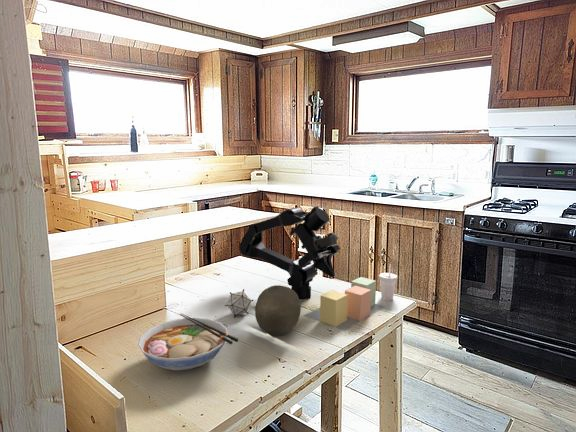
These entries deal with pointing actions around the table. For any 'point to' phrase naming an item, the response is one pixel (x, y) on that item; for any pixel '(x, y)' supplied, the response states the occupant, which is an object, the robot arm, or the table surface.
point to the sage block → (366, 286)
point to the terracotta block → (358, 302)
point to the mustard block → (333, 308)
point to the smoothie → (387, 284)
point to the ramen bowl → (184, 342)
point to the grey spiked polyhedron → (239, 303)
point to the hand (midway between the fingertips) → (333, 276)
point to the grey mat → (350, 321)
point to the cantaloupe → (277, 310)
